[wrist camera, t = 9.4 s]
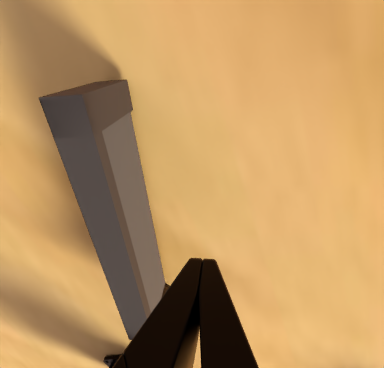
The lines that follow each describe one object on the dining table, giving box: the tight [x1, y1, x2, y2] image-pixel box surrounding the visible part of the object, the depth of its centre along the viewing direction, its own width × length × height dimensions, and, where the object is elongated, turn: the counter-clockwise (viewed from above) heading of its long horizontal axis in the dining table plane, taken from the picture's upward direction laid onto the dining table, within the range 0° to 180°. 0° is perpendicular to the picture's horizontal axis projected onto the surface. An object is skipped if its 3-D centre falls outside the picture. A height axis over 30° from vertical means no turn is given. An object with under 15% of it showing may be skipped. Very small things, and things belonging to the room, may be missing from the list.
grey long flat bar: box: [39, 80, 165, 340], centre depth 17 cm, size 18×2×5 cm, turn 5°
